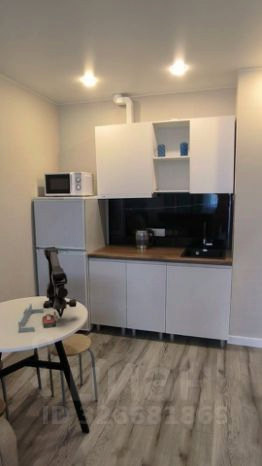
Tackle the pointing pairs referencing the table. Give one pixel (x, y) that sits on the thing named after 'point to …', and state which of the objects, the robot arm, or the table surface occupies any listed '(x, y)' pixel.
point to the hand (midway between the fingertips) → (61, 317)
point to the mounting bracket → (25, 318)
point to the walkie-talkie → (50, 320)
